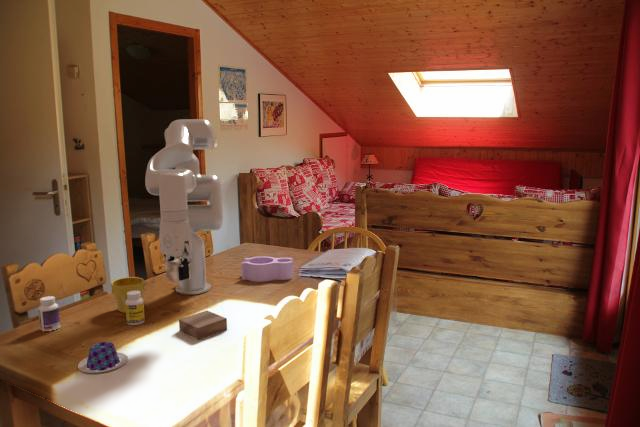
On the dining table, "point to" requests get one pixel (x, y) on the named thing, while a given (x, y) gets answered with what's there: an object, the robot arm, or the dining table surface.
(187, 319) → the walnut block
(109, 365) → the purple patterned hat
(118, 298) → the plant pot
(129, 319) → the supplement bottle
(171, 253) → the robot arm
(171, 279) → the maple block
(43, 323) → the pill bottle
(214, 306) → the dining table surface
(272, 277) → the lavender double-well tray
